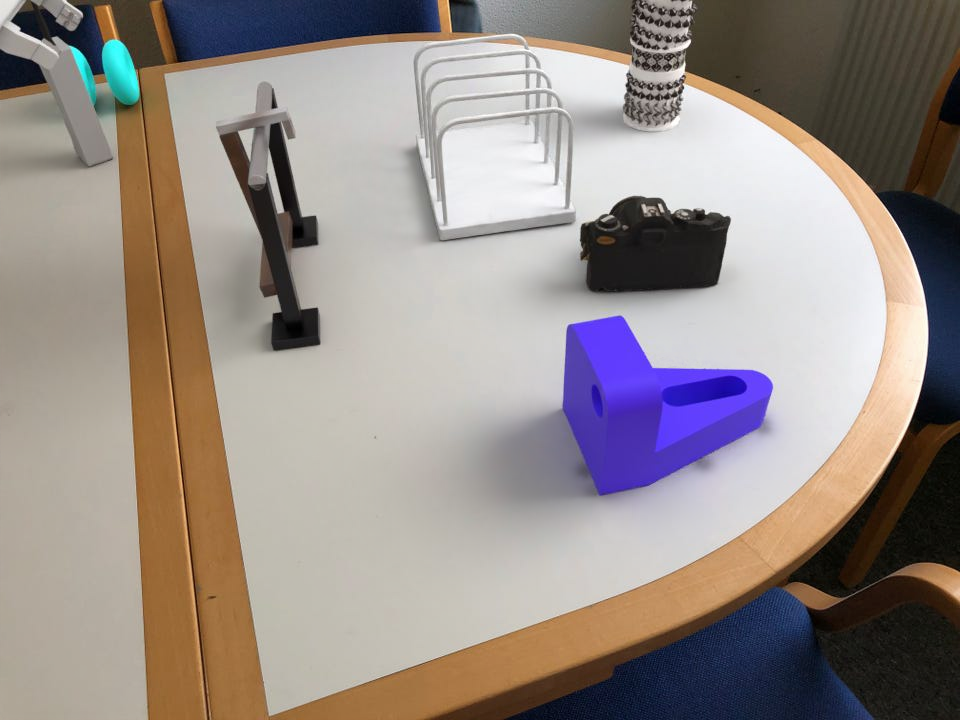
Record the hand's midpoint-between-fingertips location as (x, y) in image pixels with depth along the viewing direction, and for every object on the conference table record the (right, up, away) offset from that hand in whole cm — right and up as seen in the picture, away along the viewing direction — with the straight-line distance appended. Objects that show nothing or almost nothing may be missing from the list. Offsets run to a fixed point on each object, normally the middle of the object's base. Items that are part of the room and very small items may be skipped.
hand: (68, 41), depth 76 cm
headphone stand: (+19, -18, +15) cm, 30 cm away
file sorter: (+41, -6, +33) cm, 53 cm away
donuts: (-22, +11, +55) cm, 60 cm away
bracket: (+57, -37, -1) cm, 68 cm away
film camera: (+58, -20, +17) cm, 64 cm away
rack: (+18, -21, +18) cm, 33 cm away
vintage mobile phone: (-18, -1, +42) cm, 46 cm away
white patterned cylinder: (+65, +6, +45) cm, 79 cm away
